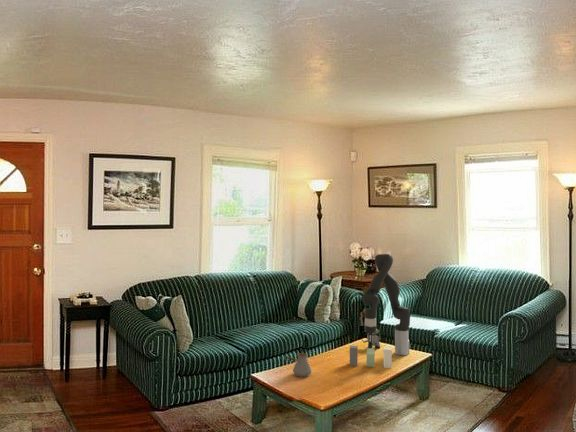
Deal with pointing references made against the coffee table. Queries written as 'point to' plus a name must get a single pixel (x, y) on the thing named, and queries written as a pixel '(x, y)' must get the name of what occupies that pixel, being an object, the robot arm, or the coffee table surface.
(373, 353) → the sage green pillar
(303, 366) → the coffee pot
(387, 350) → the off white pillar
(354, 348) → the slate grey pillar
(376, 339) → the figurine
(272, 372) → the coffee table surface
